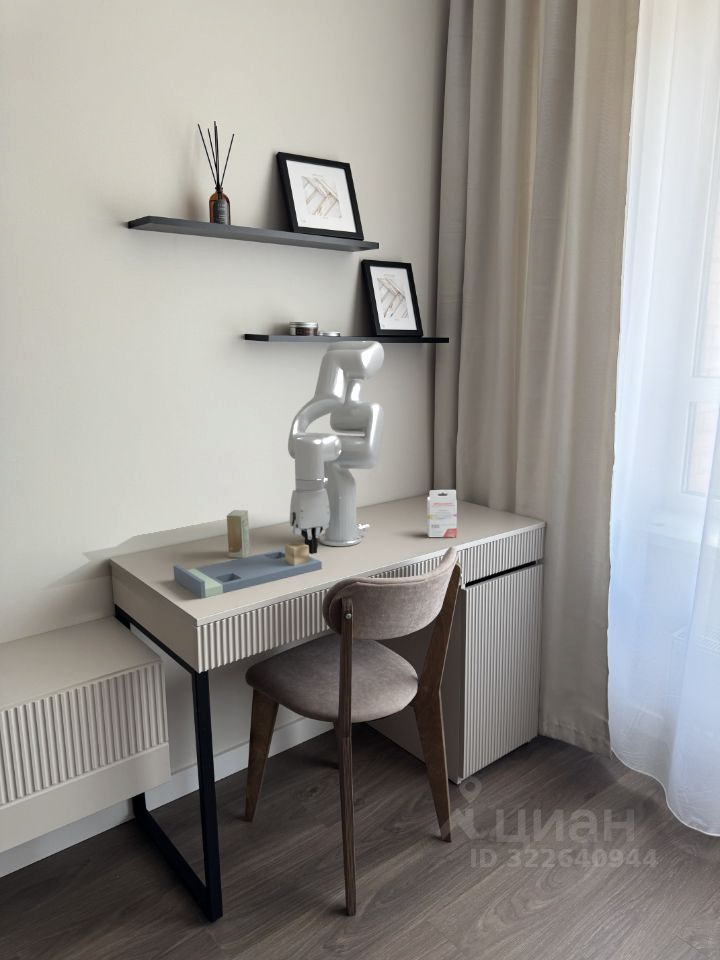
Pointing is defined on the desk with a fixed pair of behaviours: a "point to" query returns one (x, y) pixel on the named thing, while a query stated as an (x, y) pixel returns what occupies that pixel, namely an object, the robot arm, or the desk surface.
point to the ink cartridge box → (442, 513)
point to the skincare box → (238, 533)
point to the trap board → (240, 573)
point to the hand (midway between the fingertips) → (311, 552)
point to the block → (297, 553)
